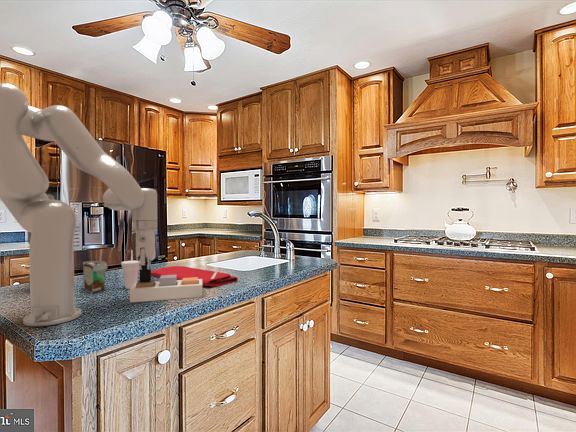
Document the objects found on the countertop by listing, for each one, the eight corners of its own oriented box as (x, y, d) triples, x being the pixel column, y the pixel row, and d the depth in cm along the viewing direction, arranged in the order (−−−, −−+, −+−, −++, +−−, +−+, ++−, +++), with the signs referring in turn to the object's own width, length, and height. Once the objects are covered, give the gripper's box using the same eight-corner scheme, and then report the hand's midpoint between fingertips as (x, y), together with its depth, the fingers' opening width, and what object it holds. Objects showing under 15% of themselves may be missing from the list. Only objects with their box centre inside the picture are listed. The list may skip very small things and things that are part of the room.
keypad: (202, 297, 107) (202, 285, 107) (129, 302, 101) (129, 289, 101) (202, 289, 117) (202, 278, 117) (135, 294, 111) (135, 282, 111)
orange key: (197, 289, 109) (197, 280, 109) (182, 290, 108) (182, 281, 108) (197, 286, 114) (197, 277, 114) (182, 287, 112) (182, 278, 112)
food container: (113, 291, 116) (112, 263, 115) (93, 294, 111) (93, 265, 111) (101, 285, 124) (101, 259, 124) (83, 288, 119) (82, 261, 119)
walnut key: (153, 292, 105) (152, 282, 105) (136, 293, 104) (136, 283, 104) (155, 289, 110) (155, 279, 110) (139, 290, 109) (139, 280, 109)
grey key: (175, 287, 107) (175, 277, 107) (159, 288, 106) (159, 278, 106) (176, 283, 112) (176, 274, 112) (161, 284, 111) (161, 275, 110)
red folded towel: (179, 271, 155) (179, 263, 155) (238, 282, 130) (238, 273, 130) (148, 276, 143) (148, 268, 143) (207, 290, 118) (207, 280, 118)
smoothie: (132, 290, 117) (132, 251, 116) (117, 289, 118) (116, 251, 118) (144, 286, 123) (143, 249, 123) (129, 285, 124) (128, 249, 124)
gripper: (154, 226, 100) (154, 285, 101) (159, 224, 115) (160, 276, 115) (127, 227, 98) (128, 287, 99) (136, 225, 113) (137, 277, 113)
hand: (145, 281), depth 107 cm, fingers closed
